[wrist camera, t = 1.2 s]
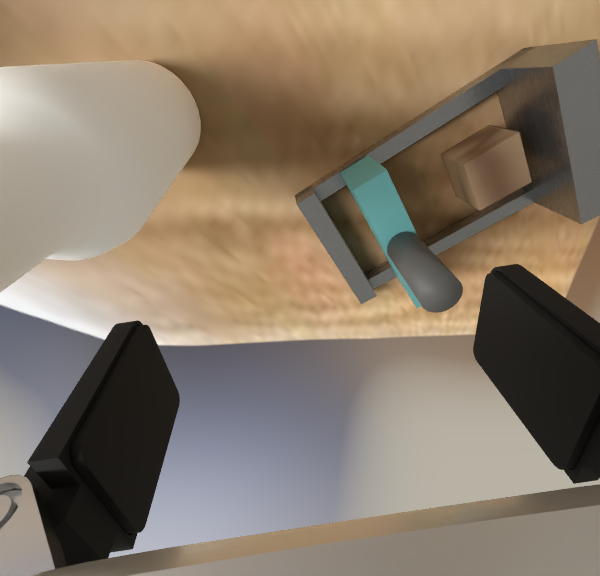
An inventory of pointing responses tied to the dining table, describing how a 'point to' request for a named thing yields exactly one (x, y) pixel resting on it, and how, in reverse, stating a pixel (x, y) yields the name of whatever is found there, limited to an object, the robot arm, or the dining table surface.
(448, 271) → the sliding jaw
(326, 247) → the vise bed
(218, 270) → the dining table surface
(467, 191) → the walnut block
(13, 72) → the alcohol
